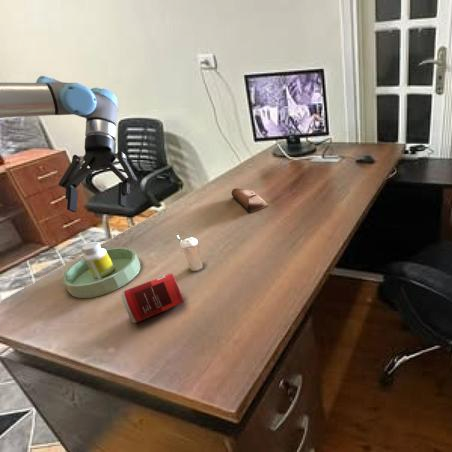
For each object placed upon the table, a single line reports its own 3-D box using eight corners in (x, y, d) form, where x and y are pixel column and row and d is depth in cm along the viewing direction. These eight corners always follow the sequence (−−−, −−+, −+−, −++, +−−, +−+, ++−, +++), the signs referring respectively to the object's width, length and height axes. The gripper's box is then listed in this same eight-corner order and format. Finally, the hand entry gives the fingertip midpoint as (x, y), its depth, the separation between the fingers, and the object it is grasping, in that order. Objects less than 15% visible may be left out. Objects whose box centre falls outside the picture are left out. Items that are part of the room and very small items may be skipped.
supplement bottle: (119, 268, 99) (105, 238, 94) (110, 279, 95) (95, 249, 90) (100, 270, 99) (85, 241, 94) (90, 282, 94) (74, 252, 90)
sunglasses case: (270, 204, 127) (258, 193, 123) (256, 218, 126) (244, 207, 122) (251, 190, 141) (240, 179, 137) (239, 203, 140) (228, 192, 136)
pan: (54, 302, 89) (47, 290, 87) (90, 262, 104) (84, 251, 103) (124, 293, 90) (118, 281, 88) (149, 255, 105) (145, 244, 103)
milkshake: (193, 261, 100) (182, 231, 95) (208, 264, 98) (198, 233, 93) (182, 271, 96) (171, 240, 91) (198, 273, 94) (187, 242, 90)
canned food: (176, 283, 88) (128, 302, 83) (169, 266, 82) (118, 285, 77) (186, 308, 85) (137, 329, 80) (180, 292, 79) (126, 313, 74)
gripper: (150, 141, 107) (149, 207, 102) (66, 149, 105) (60, 216, 100) (137, 129, 100) (135, 199, 94) (46, 137, 98) (39, 208, 93)
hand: (97, 208), depth 97 cm, fingers open, 13 cm apart
